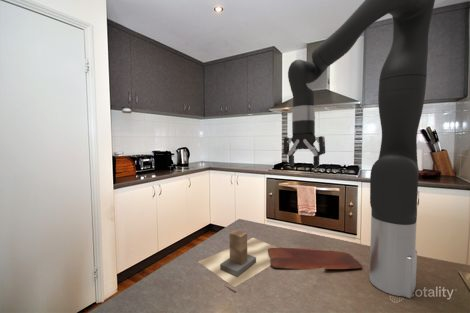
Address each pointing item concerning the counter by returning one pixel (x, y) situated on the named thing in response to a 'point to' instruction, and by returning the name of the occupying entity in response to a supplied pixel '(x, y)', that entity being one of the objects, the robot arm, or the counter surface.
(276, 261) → the wooden tablet
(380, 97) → the robot arm
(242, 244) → the block
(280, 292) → the counter surface
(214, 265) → the birch board
